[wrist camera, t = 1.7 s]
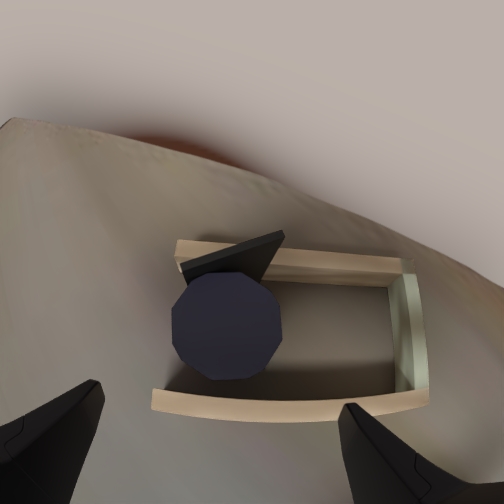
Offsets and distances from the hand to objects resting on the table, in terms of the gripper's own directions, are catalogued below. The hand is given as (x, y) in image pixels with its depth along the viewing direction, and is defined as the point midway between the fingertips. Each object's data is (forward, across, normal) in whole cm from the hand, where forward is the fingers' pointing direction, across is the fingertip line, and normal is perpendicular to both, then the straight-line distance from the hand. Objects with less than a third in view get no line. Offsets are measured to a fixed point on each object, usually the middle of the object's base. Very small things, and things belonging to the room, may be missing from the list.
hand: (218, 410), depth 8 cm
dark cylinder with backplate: (+12, 0, +5) cm, 13 cm away
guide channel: (+12, -5, +4) cm, 14 cm away
